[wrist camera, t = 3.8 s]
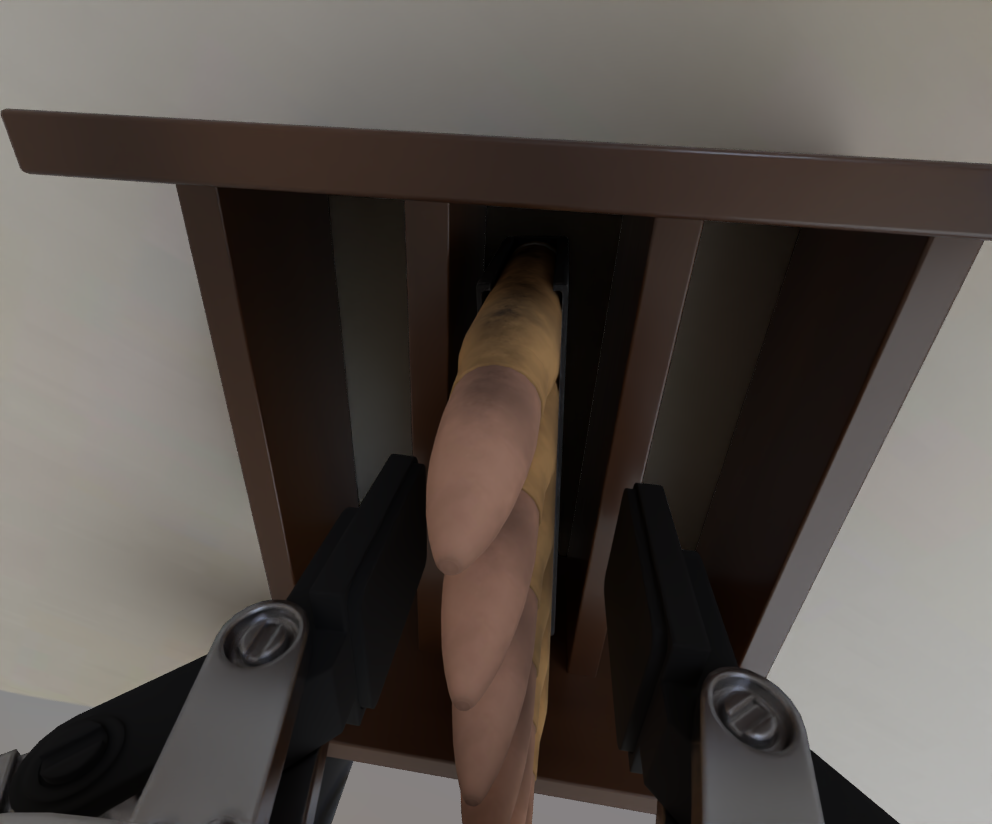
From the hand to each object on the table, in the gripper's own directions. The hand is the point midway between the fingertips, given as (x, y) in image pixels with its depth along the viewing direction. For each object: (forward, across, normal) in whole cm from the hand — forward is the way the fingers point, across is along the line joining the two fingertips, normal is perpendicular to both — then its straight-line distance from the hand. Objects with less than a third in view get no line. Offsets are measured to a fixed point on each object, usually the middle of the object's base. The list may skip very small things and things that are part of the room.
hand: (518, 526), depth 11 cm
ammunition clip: (+7, 0, 0) cm, 7 cm away
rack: (+6, 0, 0) cm, 6 cm away
